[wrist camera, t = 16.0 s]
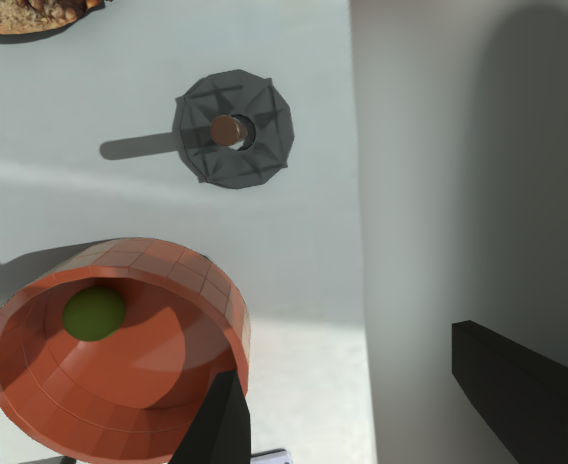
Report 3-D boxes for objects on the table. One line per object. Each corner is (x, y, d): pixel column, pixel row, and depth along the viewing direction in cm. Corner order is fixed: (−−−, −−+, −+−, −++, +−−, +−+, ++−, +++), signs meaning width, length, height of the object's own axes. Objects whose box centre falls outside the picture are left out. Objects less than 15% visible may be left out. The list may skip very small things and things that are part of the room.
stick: (249, 139, 16) (242, 143, 10) (231, 143, 16) (214, 149, 10) (245, 120, 16) (235, 112, 10) (226, 124, 16) (205, 118, 10)
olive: (86, 267, 17) (134, 288, 19) (51, 309, 17) (102, 325, 19) (86, 297, 14) (141, 317, 16) (45, 345, 14) (104, 359, 16)
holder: (300, 175, 17) (301, 176, 17) (200, 195, 17) (198, 197, 16) (281, 62, 15) (281, 60, 15) (169, 84, 15) (166, 83, 15)
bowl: (268, 387, 22) (269, 441, 18) (89, 425, 22) (53, 487, 18) (222, 217, 17) (212, 240, 14) (-1, 262, 17) (-74, 298, 13)
